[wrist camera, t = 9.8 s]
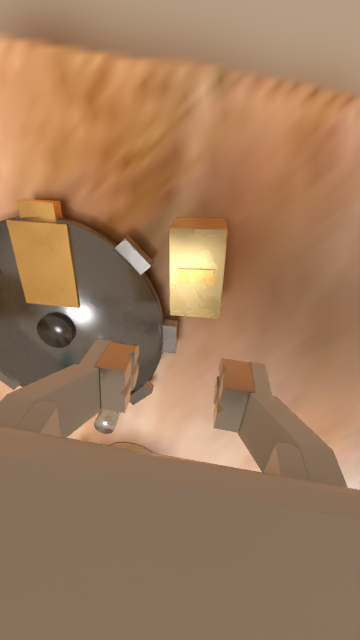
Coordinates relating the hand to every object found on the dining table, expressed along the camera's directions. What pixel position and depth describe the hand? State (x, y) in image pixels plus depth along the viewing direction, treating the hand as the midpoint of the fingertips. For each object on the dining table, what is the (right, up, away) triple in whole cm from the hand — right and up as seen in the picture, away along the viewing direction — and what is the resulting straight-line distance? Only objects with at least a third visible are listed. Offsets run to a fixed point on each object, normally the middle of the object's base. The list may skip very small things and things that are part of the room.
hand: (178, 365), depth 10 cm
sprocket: (-10, +2, +15) cm, 18 cm away
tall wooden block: (+2, +6, +12) cm, 13 cm away
